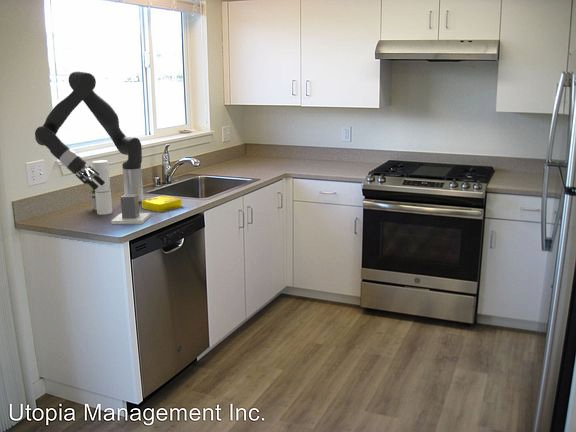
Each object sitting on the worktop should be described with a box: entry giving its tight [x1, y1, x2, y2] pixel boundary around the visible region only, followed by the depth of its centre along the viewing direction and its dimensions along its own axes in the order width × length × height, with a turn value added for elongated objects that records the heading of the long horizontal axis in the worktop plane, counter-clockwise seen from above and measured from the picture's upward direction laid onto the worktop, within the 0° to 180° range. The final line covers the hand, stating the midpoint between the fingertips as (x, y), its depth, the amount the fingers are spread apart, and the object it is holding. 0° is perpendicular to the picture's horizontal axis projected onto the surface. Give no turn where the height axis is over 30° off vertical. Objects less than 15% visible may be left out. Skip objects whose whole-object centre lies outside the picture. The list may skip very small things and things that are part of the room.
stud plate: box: [110, 212, 151, 225], centre depth 272 cm, size 14×14×8 cm
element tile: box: [141, 194, 183, 213], centre depth 297 cm, size 15×15×5 cm
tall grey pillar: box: [120, 193, 140, 219], centre depth 272 cm, size 6×6×10 cm
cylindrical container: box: [91, 159, 113, 216], centre depth 285 cm, size 7×7×25 cm
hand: (100, 186), depth 270 cm, fingers open, 8 cm apart
